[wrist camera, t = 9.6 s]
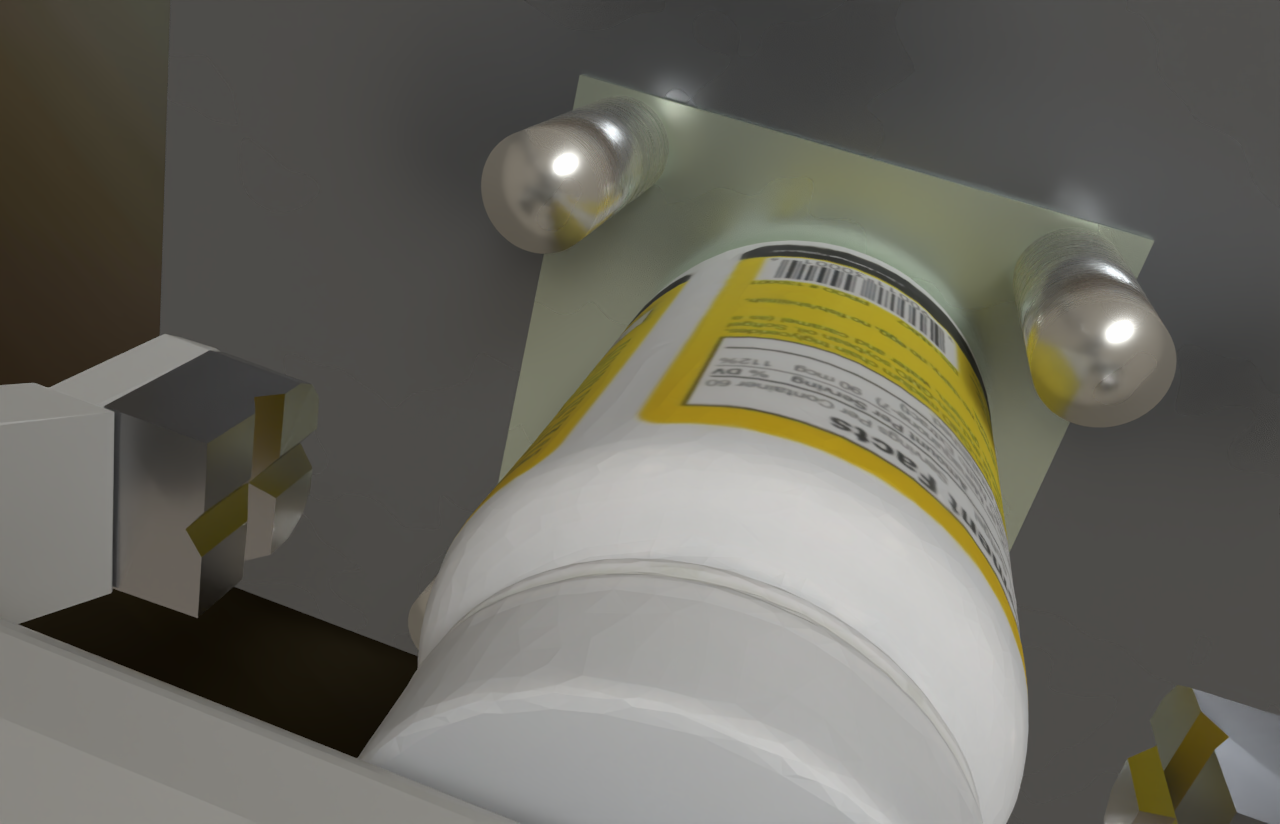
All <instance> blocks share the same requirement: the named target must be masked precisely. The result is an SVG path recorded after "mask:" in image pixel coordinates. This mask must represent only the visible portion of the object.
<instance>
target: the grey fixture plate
mask: <svg viewBox="0 0 1280 824" xmlns="http://www.w3.org/2000/svg"><path fill="white" fill-rule="evenodd" d="M789 240H796V241H811V242H821V243H827V244H832V245H837V246H841V247H845V248H848V249H851V250H855V251H858V252H861V253H863V254H866V255H869V256H871V257H873V258H875V259H878V260H880V261H882V262H884V263H886V264H888V265H890V266H892V267H893V268H895V269H897V270H899V271H900V272H902V273H903V274H905V275H906V276H908V277H909V278H911V279H912V280H913V281H914V282H916V283H917V284H918V285H919V286H921V287H922V288H923V289H924V290H926V291H927V292H928V293H929V294H930V295H931V296H932V297H933V298H934V299H935V300H936V301H937V302H938V303H939V304H940V305H941V306H942V307H943V308H944V310H945V311H946V312H947V313H948V315H949V316H950V317H951V318H952V320H953V321H954V322H955V324H956V325H957V327H958V328H959V329H960V331H961V332H962V334H963V335H964V337H965V339H966V341H967V342H968V344H969V346H970V348H971V350H972V352H973V354H974V356H975V358H976V361H977V364H978V367H979V369H980V372H981V375H982V378H983V381H984V385H985V389H986V393H987V397H988V403H989V409H990V415H991V423H992V432H993V440H994V446H995V453H996V460H997V467H998V474H999V482H1000V490H1001V497H1002V504H1003V511H1004V518H1005V525H1006V532H1007V539H1008V547H1009V555H1010V563H1011V571H1012V578H1013V586H1014V593H1015V598H1016V605H1017V615H1018V620H1019V629H1020V639H1021V644H1022V649H1023V656H1024V662H1025V669H1026V678H1027V688H1028V743H1027V753H1026V759H1025V766H1024V772H1023V777H1022V781H1021V785H1020V789H1019V793H1018V797H1017V800H1016V803H1015V806H1014V808H1013V811H1012V813H1011V815H1010V817H1009V819H1008V821H1007V823H1006V824H1104V816H1105V812H1106V808H1107V804H1108V801H1109V797H1110V793H1111V789H1112V787H1113V785H1114V783H1115V781H1116V779H1117V777H1118V775H1119V773H1120V772H1121V770H1122V768H1123V766H1124V764H1125V762H1126V760H1127V759H1128V758H1130V757H1132V756H1134V755H1137V754H1139V753H1141V752H1143V751H1146V750H1148V749H1150V748H1153V747H1155V746H1157V745H1156V741H1155V737H1154V733H1153V729H1152V726H1151V722H1150V719H1151V718H1152V716H1153V714H1154V713H1155V711H1156V710H1157V708H1158V706H1159V705H1160V703H1161V701H1162V700H1163V698H1164V697H1165V696H1166V695H1167V694H1168V693H1169V692H1170V691H1171V690H1172V689H1174V688H1175V687H1176V686H1177V685H1181V686H1185V687H1189V688H1193V689H1196V690H1200V691H1203V692H1206V693H1209V694H1212V695H1215V696H1218V697H1222V698H1225V699H1228V700H1231V701H1234V702H1237V703H1240V704H1243V705H1247V706H1250V707H1253V708H1256V709H1259V710H1262V711H1265V712H1269V713H1272V714H1275V715H1278V716H1280V0H171V1H170V32H169V64H168V95H167V126H166V158H165V189H164V220H163V251H162V283H161V314H160V336H161V335H163V334H168V335H173V336H178V337H182V338H185V339H188V340H191V341H194V342H198V343H201V344H204V345H207V346H210V347H213V348H216V349H218V350H219V351H220V352H225V353H228V354H231V355H233V356H236V357H239V358H242V359H244V360H247V361H250V362H252V363H255V364H258V365H261V366H263V367H266V368H269V369H272V370H274V371H277V372H280V373H282V374H285V375H288V376H291V377H293V378H296V379H299V380H302V381H304V382H307V383H310V384H312V385H313V387H314V389H315V391H316V393H317V395H318V397H319V406H318V421H317V429H316V430H315V431H314V432H312V433H311V434H310V435H309V436H308V437H307V438H306V439H305V440H303V441H302V442H301V445H302V447H303V449H304V451H305V454H306V456H307V458H308V460H309V462H310V464H311V466H312V468H313V470H312V478H311V486H310V492H309V495H308V498H307V502H306V505H305V508H304V511H303V514H302V516H301V517H300V519H299V521H298V522H297V524H296V526H295V527H294V529H293V531H292V532H291V534H290V536H289V537H288V539H287V540H286V541H285V542H284V543H282V544H281V545H280V546H279V547H278V548H277V549H276V550H275V551H274V552H273V553H272V554H271V555H267V556H263V557H259V558H254V559H250V560H246V561H244V567H243V578H242V580H241V581H240V582H239V583H238V584H236V585H235V586H234V587H236V588H239V589H242V590H244V591H247V592H250V593H252V594H255V595H257V596H260V597H263V598H265V599H268V600H271V601H273V602H276V603H279V604H281V605H284V606H287V607H289V608H292V609H294V610H297V611H300V612H302V613H305V614H308V615H310V616H313V617H316V618H318V619H321V620H324V621H326V622H329V623H331V624H334V625H337V626H339V627H342V628H345V629H347V630H350V631H353V632H355V633H358V634H360V635H363V636H366V637H368V638H371V639H374V640H376V641H379V642H382V643H384V644H387V645H390V646H392V647H395V648H397V649H400V650H403V651H405V652H408V653H411V654H413V655H416V656H418V653H419V643H420V635H421V628H422V623H423V619H424V614H425V610H426V605H427V602H428V599H429V596H430V592H431V589H432V586H433V584H434V582H435V579H436V577H437V574H438V572H439V570H440V567H441V565H442V563H443V560H444V558H445V555H446V553H447V551H448V549H449V547H450V545H451V544H452V542H453V540H454V538H455V537H456V536H457V534H458V533H459V531H460V530H461V528H462V527H463V525H464V524H465V523H466V521H467V520H468V518H469V517H470V516H471V515H472V514H473V512H474V511H475V510H476V509H477V508H478V506H479V505H480V504H481V503H482V502H483V501H484V500H485V498H486V497H487V496H488V495H489V494H490V493H491V491H492V490H493V489H494V488H495V487H496V486H497V485H498V483H499V482H500V481H501V480H502V479H503V478H504V476H505V475H506V474H507V473H508V472H509V471H510V470H511V468H512V467H513V466H514V465H515V464H516V462H517V461H518V460H519V459H520V458H521V457H522V455H523V454H524V453H525V452H526V451H527V450H528V448H529V447H530V446H531V445H532V444H533V443H534V441H535V440H536V439H537V438H538V436H539V435H540V434H541V433H542V431H543V430H544V429H545V428H546V427H547V425H548V424H549V423H550V422H551V421H552V419H553V418H554V417H555V416H556V415H557V413H558V412H559V411H560V409H561V408H562V407H563V405H564V404H565V403H566V402H567V401H568V399H569V398H570V397H571V396H572V395H573V394H574V393H575V391H576V390H577V389H578V388H579V386H580V385H581V384H582V383H583V381H584V380H585V379H586V378H587V376H588V375H589V374H590V373H591V371H592V370H593V369H594V368H595V367H596V365H597V364H598V363H599V362H600V361H601V359H602V358H603V357H604V355H605V354H606V353H607V352H608V350H609V349H610V348H611V347H612V345H613V344H614V343H615V342H616V340H617V339H618V338H619V337H620V336H621V334H622V333H623V332H624V331H625V329H626V328H627V327H628V325H629V324H630V323H631V322H632V320H633V319H634V318H635V317H636V316H637V314H638V313H639V312H640V311H641V310H642V308H643V307H644V306H645V305H646V304H647V303H648V302H649V301H650V300H651V299H652V298H653V297H654V296H655V295H656V294H657V293H658V292H660V291H661V290H662V289H663V288H664V287H665V286H667V285H668V284H669V283H670V282H672V281H673V280H674V279H675V278H677V277H678V276H680V275H681V274H683V273H684V272H686V271H687V270H689V269H691V268H692V267H694V266H696V265H698V264H699V263H701V262H703V261H705V260H707V259H710V258H712V257H714V256H717V255H719V254H721V253H724V252H726V251H729V250H733V249H736V248H740V247H744V246H748V245H752V244H757V243H764V242H772V241H789Z"/></svg>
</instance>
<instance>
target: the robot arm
mask: <svg viewBox="0 0 1280 824" xmlns="http://www.w3.org/2000/svg"><path fill="white" fill-rule="evenodd" d="M318 406H319V397H318V395H317V393H316V391H315V389H314V387H313V385H312V384H310V383H307V382H304V381H302V380H299V379H296V378H293V377H291V376H288V375H285V374H282V373H280V372H277V371H274V370H272V369H269V368H266V367H263V366H261V365H258V364H255V363H252V362H250V361H247V360H244V359H242V358H239V357H236V356H233V355H231V354H228V353H225V352H220V351H219V350H218V349H216V348H213V347H210V346H207V345H204V344H201V343H198V342H194V341H191V340H188V339H185V338H182V337H178V336H173V335H168V334H163V335H161V336H159V337H157V338H155V339H152V340H150V341H148V342H146V343H144V344H142V345H140V346H137V347H135V348H133V349H131V350H129V351H127V352H125V353H122V354H120V355H118V356H116V357H114V358H112V359H109V360H107V361H105V362H103V363H101V364H99V365H97V366H94V367H92V368H90V369H88V370H86V371H84V372H82V373H79V374H77V375H75V376H73V377H71V378H69V379H67V380H64V381H62V382H60V383H58V384H56V385H54V386H52V387H49V388H47V387H44V386H41V385H39V384H36V383H25V384H12V385H0V824H522V823H519V822H516V821H514V820H511V819H509V818H506V817H504V816H501V815H499V814H496V813H494V812H491V811H489V810H486V809H484V808H481V807H479V806H476V805H473V804H471V803H468V802H466V801H463V800H461V799H458V798H456V797H453V796H451V795H448V794H446V793H443V792H441V791H438V790H436V789H433V788H431V787H428V786H425V785H423V784H420V783H418V782H415V781H413V780H410V779H408V778H405V777H403V776H400V775H398V774H395V773H393V772H390V771H388V770H385V769H382V768H380V767H377V766H375V765H372V764H370V763H367V762H365V761H362V760H360V759H357V758H355V757H352V756H350V755H347V754H345V753H342V752H339V751H337V750H334V749H332V748H329V747H327V746H324V745H322V744H319V743H317V742H314V741H312V740H309V739H307V738H304V737H302V736H299V735H296V734H294V733H291V732H289V731H286V730H284V729H281V728H279V727H276V726H274V725H271V724H269V723H266V722H264V721H261V720H259V719H256V718H254V717H251V716H248V715H246V714H243V713H241V712H238V711H236V710H233V709H231V708H228V707H226V706H223V705H221V704H218V703H216V702H213V701H211V700H208V699H205V698H203V697H200V696H198V695H195V694H193V693H190V692H188V691H185V690H183V689H180V688H178V687H175V686H173V685H170V684H168V683H165V682H162V681H160V680H157V679H155V678H152V677H150V676H147V675H145V674H142V673H140V672H137V671H135V670H132V669H130V668H127V667H125V666H122V665H120V664H117V663H114V662H112V661H109V660H107V659H104V658H102V657H99V656H97V655H94V654H92V653H89V652H87V651H84V650H82V649H79V648H77V647H74V646H71V645H69V644H66V643H64V642H61V641H59V640H56V639H54V638H51V637H49V636H46V635H44V634H41V633H39V632H36V631H34V630H31V629H28V628H26V627H23V626H21V625H18V624H20V623H23V622H26V621H29V620H32V619H35V618H38V617H41V616H44V615H47V614H50V613H53V612H56V611H59V610H62V609H65V608H68V607H71V606H74V605H77V604H80V603H83V602H86V601H89V600H92V599H95V598H98V597H101V596H104V595H107V594H110V593H112V588H113V589H116V590H119V591H122V592H125V593H128V594H130V595H133V596H136V597H139V598H142V599H145V600H148V601H150V602H153V603H156V604H159V605H162V606H165V607H167V608H170V609H173V610H176V611H179V612H182V613H185V614H187V615H190V616H193V617H196V618H199V617H200V616H201V615H202V614H203V613H204V612H205V611H207V610H208V609H209V608H210V607H211V606H212V605H213V604H215V603H216V602H217V601H218V600H219V599H220V598H222V597H223V596H224V595H225V594H226V593H227V592H228V591H230V590H231V589H232V588H233V587H234V586H235V585H236V584H238V583H239V582H240V581H241V580H242V578H243V567H244V561H246V560H250V559H254V558H259V557H263V556H267V555H271V554H272V553H273V552H274V551H275V550H276V549H277V548H278V547H279V546H280V545H281V544H282V543H284V542H285V541H286V540H287V539H288V537H289V536H290V534H291V532H292V531H293V529H294V527H295V526H296V524H297V522H298V521H299V519H300V517H301V516H302V514H303V511H304V508H305V505H306V502H307V498H308V495H309V492H310V486H311V478H312V470H313V468H312V466H311V464H310V462H309V460H308V458H307V456H306V454H305V451H304V449H303V447H302V445H301V442H302V441H303V440H305V439H306V438H307V437H308V436H309V435H310V434H311V433H312V432H314V431H315V430H316V429H317V421H318ZM1150 722H1151V726H1152V729H1153V733H1154V737H1155V741H1156V745H1157V746H1155V747H1153V748H1150V749H1148V750H1146V751H1143V752H1141V753H1139V754H1137V755H1134V756H1132V757H1130V758H1128V759H1127V760H1126V762H1125V764H1124V766H1123V768H1122V770H1121V772H1120V773H1119V775H1118V777H1117V779H1116V781H1115V783H1114V785H1113V787H1112V789H1111V793H1110V797H1109V801H1108V804H1107V808H1106V812H1105V816H1104V824H1280V716H1278V715H1275V714H1272V713H1269V712H1265V711H1262V710H1259V709H1256V708H1253V707H1250V706H1247V705H1243V704H1240V703H1237V702H1234V701H1231V700H1228V699H1225V698H1222V697H1218V696H1215V695H1212V694H1209V693H1206V692H1203V691H1200V690H1196V689H1193V688H1189V687H1185V686H1181V685H1177V686H1176V687H1175V688H1174V689H1172V690H1171V691H1170V692H1169V693H1168V694H1167V695H1166V696H1165V697H1164V698H1163V700H1162V701H1161V703H1160V705H1159V706H1158V708H1157V710H1156V711H1155V713H1154V714H1153V716H1152V718H1151V719H1150Z"/></svg>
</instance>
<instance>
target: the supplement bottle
mask: <svg viewBox="0 0 1280 824" xmlns="http://www.w3.org/2000/svg"><path fill="white" fill-rule="evenodd" d="M1027 743H1028V688H1027V678H1026V669H1025V662H1024V656H1023V649H1022V644H1021V639H1020V629H1019V620H1018V615H1017V605H1016V598H1015V593H1014V586H1013V578H1012V571H1011V563H1010V555H1009V547H1008V539H1007V532H1006V525H1005V518H1004V511H1003V504H1002V497H1001V490H1000V482H999V474H998V467H997V460H996V453H995V446H994V440H993V432H992V423H991V415H990V409H989V403H988V397H987V393H986V389H985V385H984V381H983V378H982V375H981V372H980V369H979V367H978V364H977V361H976V358H975V356H974V354H973V352H972V350H971V348H970V346H969V344H968V342H967V341H966V339H965V337H964V335H963V334H962V332H961V331H960V329H959V328H958V327H957V325H956V324H955V322H954V321H953V320H952V318H951V317H950V316H949V315H948V313H947V312H946V311H945V310H944V308H943V307H942V306H941V305H940V304H939V303H938V302H937V301H936V300H935V299H934V298H933V297H932V296H931V295H930V294H929V293H928V292H927V291H926V290H924V289H923V288H922V287H921V286H919V285H918V284H917V283H916V282H914V281H913V280H912V279H911V278H909V277H908V276H906V275H905V274H903V273H902V272H900V271H899V270H897V269H895V268H893V267H892V266H890V265H888V264H886V263H884V262H882V261H880V260H878V259H875V258H873V257H871V256H869V255H866V254H863V253H861V252H858V251H855V250H851V249H848V248H845V247H841V246H837V245H832V244H827V243H821V242H811V241H796V240H789V241H772V242H764V243H757V244H752V245H748V246H744V247H740V248H736V249H733V250H729V251H726V252H724V253H721V254H719V255H717V256H714V257H712V258H710V259H707V260H705V261H703V262H701V263H699V264H698V265H696V266H694V267H692V268H691V269H689V270H687V271H686V272H684V273H683V274H681V275H680V276H678V277H677V278H675V279H674V280H673V281H672V282H670V283H669V284H668V285H667V286H665V287H664V288H663V289H662V290H661V291H660V292H658V293H657V294H656V295H655V296H654V297H653V298H652V299H651V300H650V301H649V302H648V303H647V304H646V305H645V306H644V307H643V308H642V310H641V311H640V312H639V313H638V314H637V316H636V317H635V318H634V319H633V320H632V322H631V323H630V324H629V325H628V327H627V328H626V329H625V331H624V332H623V333H622V334H621V336H620V337H619V338H618V339H617V340H616V342H615V343H614V344H613V345H612V347H611V348H610V349H609V350H608V352H607V353H606V354H605V355H604V357H603V358H602V359H601V361H600V362H599V363H598V364H597V365H596V367H595V368H594V369H593V370H592V371H591V373H590V374H589V375H588V376H587V378H586V379H585V380H584V381H583V383H582V384H581V385H580V386H579V388H578V389H577V390H576V391H575V393H574V394H573V395H572V396H571V397H570V398H569V399H568V401H567V402H566V403H565V404H564V405H563V407H562V408H561V409H560V411H559V412H558V413H557V415H556V416H555V417H554V418H553V419H552V421H551V422H550V423H549V424H548V425H547V427H546V428H545V429H544V430H543V431H542V433H541V434H540V435H539V436H538V438H537V439H536V440H535V441H534V443H533V444H532V445H531V446H530V447H529V448H528V450H527V451H526V452H525V453H524V454H523V455H522V457H521V458H520V459H519V460H518V461H517V462H516V464H515V465H514V466H513V467H512V468H511V470H510V471H509V472H508V473H507V474H506V475H505V476H504V478H503V479H502V480H501V481H500V482H499V483H498V485H497V486H496V487H495V488H494V489H493V490H492V491H491V493H490V494H489V495H488V496H487V497H486V498H485V500H484V501H483V502H482V503H481V504H480V505H479V506H478V508H477V509H476V510H475V511H474V512H473V514H472V515H471V516H470V517H469V518H468V520H467V521H466V523H465V524H464V525H463V527H462V528H461V530H460V531H459V533H458V534H457V536H456V537H455V538H454V540H453V542H452V544H451V545H450V547H449V549H448V551H447V553H446V555H445V558H444V560H443V563H442V565H441V567H440V570H439V572H438V574H437V577H436V579H435V582H434V584H433V586H432V589H431V592H430V596H429V599H428V602H427V605H426V610H425V614H424V619H423V623H422V628H421V635H420V643H419V653H418V669H417V671H416V672H415V673H414V675H413V677H412V678H411V680H410V682H409V684H408V685H407V687H406V688H405V690H404V691H403V693H402V694H401V696H400V697H399V698H398V700H397V701H396V703H395V704H394V706H393V707H392V709H391V710H390V711H389V713H388V714H387V716H386V717H385V719H384V720H383V722H382V723H381V724H380V726H379V727H378V729H377V730H376V732H375V733H374V734H373V736H372V737H371V739H370V740H369V742H368V743H367V745H366V746H365V748H364V749H363V751H362V752H361V754H360V755H359V757H358V758H357V759H360V760H362V761H365V762H367V763H370V764H372V765H375V766H377V767H380V768H382V769H385V770H388V771H390V772H393V773H395V774H398V775H400V776H403V777H405V778H408V779H410V780H413V781H415V782H418V783H420V784H423V785H425V786H428V787H431V788H433V789H436V790H438V791H441V792H443V793H446V794H448V795H451V796H453V797H456V798H458V799H461V800H463V801H466V802H468V803H471V804H473V805H476V806H479V807H481V808H484V809H486V810H489V811H491V812H494V813H496V814H499V815H501V816H504V817H506V818H509V819H511V820H514V821H516V822H519V823H522V824H1006V823H1007V821H1008V819H1009V817H1010V815H1011V813H1012V811H1013V808H1014V806H1015V803H1016V800H1017V797H1018V793H1019V789H1020V785H1021V781H1022V777H1023V772H1024V766H1025V759H1026V753H1027Z"/></svg>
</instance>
